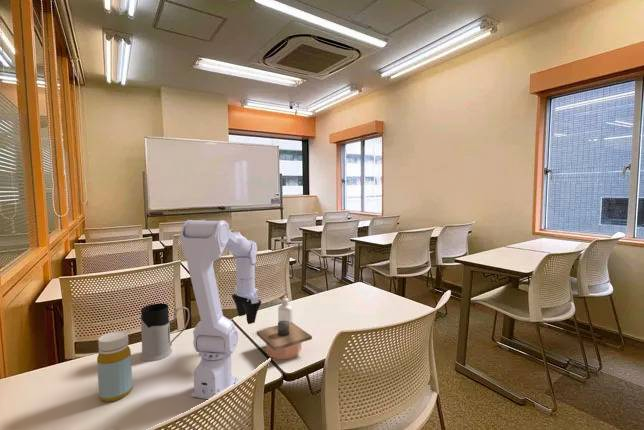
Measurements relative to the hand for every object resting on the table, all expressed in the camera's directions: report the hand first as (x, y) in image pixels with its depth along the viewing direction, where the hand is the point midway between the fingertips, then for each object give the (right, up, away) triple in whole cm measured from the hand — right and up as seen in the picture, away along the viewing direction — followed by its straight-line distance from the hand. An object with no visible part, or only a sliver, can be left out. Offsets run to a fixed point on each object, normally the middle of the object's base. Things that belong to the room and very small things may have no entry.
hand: (246, 319), depth 102 cm
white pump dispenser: (+11, -9, +18) cm, 22 cm away
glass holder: (-25, -10, -1) cm, 27 cm away
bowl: (+12, -10, 0) cm, 16 cm away
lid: (+12, -5, -1) cm, 13 cm away
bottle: (-28, -12, -22) cm, 37 cm away
